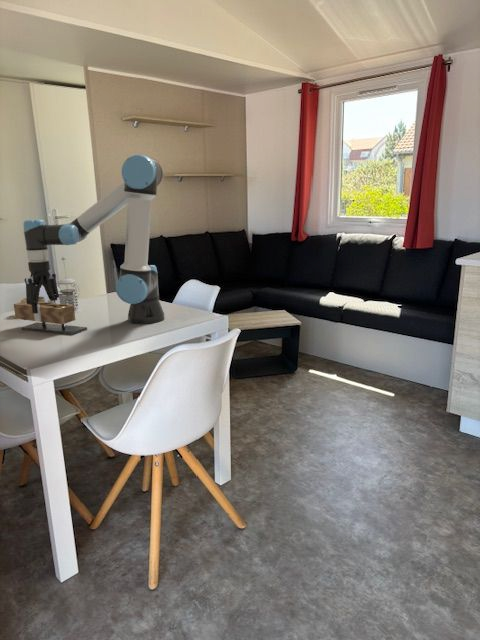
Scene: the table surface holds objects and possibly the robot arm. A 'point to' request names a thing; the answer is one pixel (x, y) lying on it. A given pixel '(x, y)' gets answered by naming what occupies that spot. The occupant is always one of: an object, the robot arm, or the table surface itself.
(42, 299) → the flower pot
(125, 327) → the table surface
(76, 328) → the rail
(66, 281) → the french press
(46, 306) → the wooden compartment box
